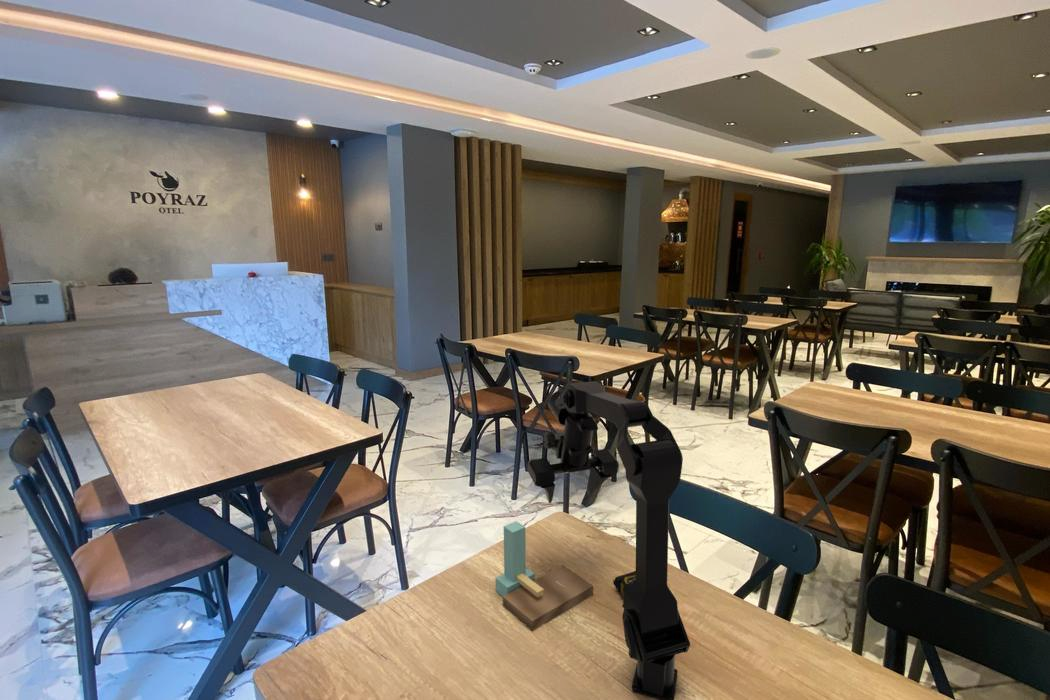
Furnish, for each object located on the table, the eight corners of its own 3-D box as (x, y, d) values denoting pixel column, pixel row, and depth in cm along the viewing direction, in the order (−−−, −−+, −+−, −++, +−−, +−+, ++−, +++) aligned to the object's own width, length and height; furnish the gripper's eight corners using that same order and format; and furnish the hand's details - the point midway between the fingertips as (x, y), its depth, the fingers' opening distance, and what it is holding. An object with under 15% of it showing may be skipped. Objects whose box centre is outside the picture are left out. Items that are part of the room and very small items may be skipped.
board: (532, 630, 98) (532, 620, 97) (503, 605, 104) (502, 595, 104) (593, 594, 107) (593, 585, 107) (562, 573, 114) (562, 564, 114)
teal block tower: (526, 617, 101) (526, 550, 98) (495, 591, 109) (494, 528, 106) (554, 601, 105) (554, 537, 103) (522, 577, 113) (521, 517, 110)
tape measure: (640, 581, 112) (641, 565, 111) (661, 601, 106) (661, 584, 105) (612, 590, 109) (613, 573, 108) (632, 610, 103) (632, 593, 102)
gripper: (601, 412, 118) (592, 469, 125) (521, 422, 112) (516, 481, 119) (625, 440, 109) (614, 500, 115) (539, 453, 103) (533, 515, 109)
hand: (569, 498), depth 115 cm, fingers open, 9 cm apart
